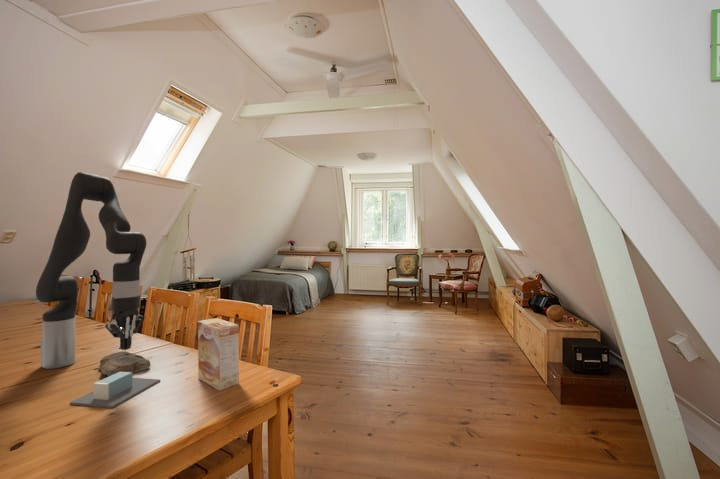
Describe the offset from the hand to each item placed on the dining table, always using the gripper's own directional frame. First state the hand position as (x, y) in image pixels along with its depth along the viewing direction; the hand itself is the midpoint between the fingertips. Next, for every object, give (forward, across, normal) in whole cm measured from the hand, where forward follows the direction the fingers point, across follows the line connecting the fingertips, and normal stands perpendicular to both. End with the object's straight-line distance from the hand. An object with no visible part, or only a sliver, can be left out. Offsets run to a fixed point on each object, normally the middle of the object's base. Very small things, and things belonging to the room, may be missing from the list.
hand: (125, 349), depth 108 cm
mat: (+12, +3, +1) cm, 13 cm away
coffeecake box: (+12, -9, +26) cm, 31 cm away
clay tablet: (+13, -15, -16) cm, 25 cm away
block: (+9, 0, 0) cm, 9 cm away
